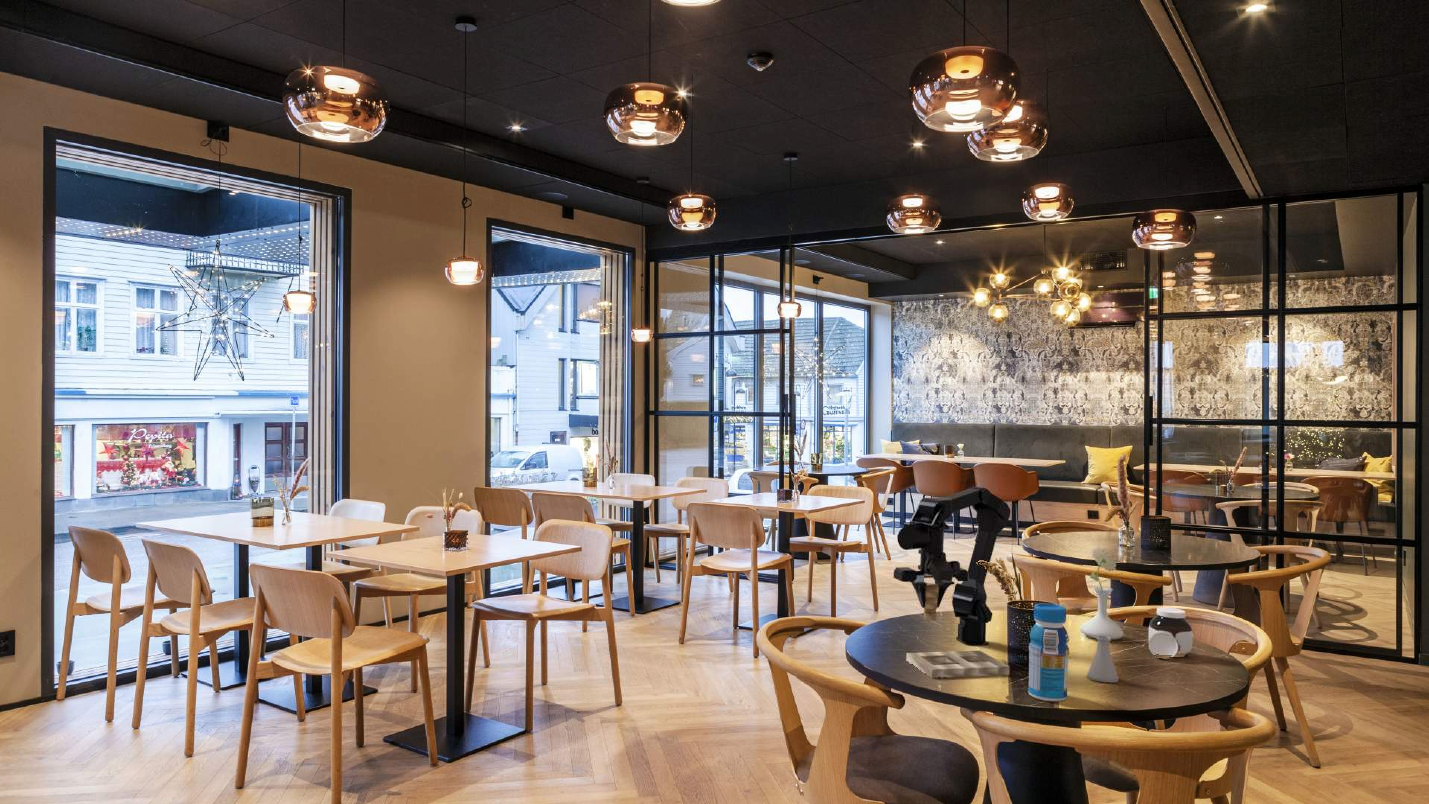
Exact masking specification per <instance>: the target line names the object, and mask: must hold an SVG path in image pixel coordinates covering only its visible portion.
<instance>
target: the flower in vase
mask: <svg viewBox="0 0 1429 804" xmlns="http://www.w3.org/2000/svg"><path fill="white" fill-rule="evenodd" d="M1091 550H1092V552H1091V553H1092V556H1091V557H1093V558H1094V561H1095V562H1096V563H1097V565H1098V568H1097V571H1096V574H1095V573H1094V572H1091V574H1090V576H1089V578H1090V579H1092V580H1094V581H1096V582H1098V583H1099V584H1098V585H1099V586H1093V590H1094V591H1095V594H1096V596H1097V597H1096V598H1097V612H1096V614H1095V615H1094V617H1092V618H1090V619H1089V620H1087V621H1085V622H1084V623H1083V624H1081V626H1080V628H1079V630H1080V632H1081V634H1083V635H1085V636H1087V637H1089V638H1093V639H1097V636H1108V637H1110V638H1111V640H1118V639H1120V638H1123V637H1124V635H1125V633H1124V630H1122V628H1121V626H1119V625H1118V624H1117V623H1116V622H1114V620H1113V619H1111V618H1110V616H1109V614H1108V599H1109V596H1110V594H1111V593H1112V591H1113V590H1114V589H1113V588H1111V587H1107V586H1106V587H1105V586H1102V583H1105V582H1106V581H1109V580H1111V578H1112V577H1109V578H1108V579H1105V580H1102V581H1101V580H1100V579H1099V570H1100V568H1102V569H1104V570H1105V571H1108V572H1113V571H1116V570H1117V568H1116V567H1117V563H1116V559H1114V555H1113V554H1111V553H1110V552H1109V551H1107V549H1106V548H1102V547H1101V546H1097V547H1093V549H1091Z"/></svg>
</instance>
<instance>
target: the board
mask: <svg viewBox="0 0 1429 804" xmlns="http://www.w3.org/2000/svg"><path fill="white" fill-rule="evenodd" d="M907 661H908V662H909V663H908V662H907ZM906 662H907V663H908V664H910V665H911V664H913V665H914V666H915V667H914V666H913V665H912V666H913V667H914V668H916V667H917V668H918V671H920V670H921V671H920V672H922V673H924V674H925V673H926V674H927V675H926V674H925V675H926V676H928V677H929V676H930V677H929V678H931V679H939V678H938V677H941V678H942V679H943V677H947V678H965V677H988V676H989V677H990V676H1009V675H1010V665H1007V664H1006V663H1004V662H1001V661H1000V660H998V659H996V658H994V657H993V656H991V655H989V654H987V653H985V652H983V651H981V650H958V651H954V650H952V651H931V652H929V651H927V652H906ZM917 668H916V669H917ZM941 678H940V679H941Z"/></svg>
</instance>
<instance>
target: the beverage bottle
mask: <svg viewBox="0 0 1429 804" xmlns="http://www.w3.org/2000/svg"><path fill="white" fill-rule="evenodd" d="M1033 619H1034V621H1035V623H1034V625H1033V626H1032V628H1031V630H1030V632H1029V638H1030V642H1029V644H1028V651H1029V653H1028V657H1029V658H1028V659H1029V660H1028V687H1027V688H1028V689H1027V692H1028V694H1029V695H1030V696H1031V697H1032V698H1035V699H1037V700H1041V701H1045V702H1062V700H1063V701H1066V699H1067V698H1068V676H1069V675H1068V673H1069V656H1070V648H1069V646H1068V643H1069V641H1070V637H1069V634H1068V631H1067V629H1066V627H1065V626H1064V625H1065V624H1066V621H1067V608H1066V607H1065V606H1064V605H1060V604H1056V603H1046V602H1045V603H1043V602H1042V603H1037V604H1035V605H1034V606H1033Z"/></svg>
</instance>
